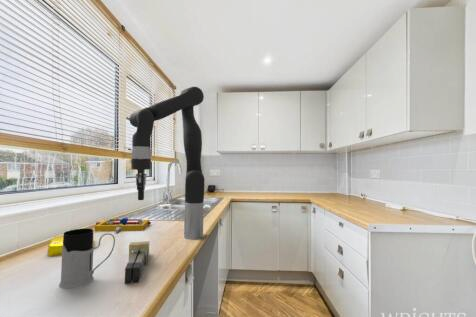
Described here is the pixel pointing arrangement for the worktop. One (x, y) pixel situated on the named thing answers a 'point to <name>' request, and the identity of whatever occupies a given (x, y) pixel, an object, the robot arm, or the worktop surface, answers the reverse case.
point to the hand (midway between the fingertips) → (140, 199)
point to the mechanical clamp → (122, 225)
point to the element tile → (55, 246)
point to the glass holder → (78, 258)
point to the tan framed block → (139, 248)
